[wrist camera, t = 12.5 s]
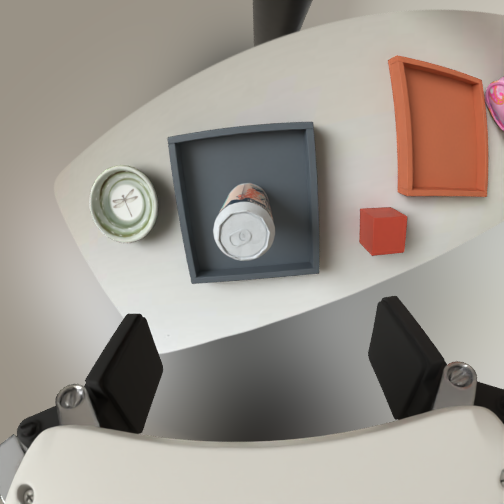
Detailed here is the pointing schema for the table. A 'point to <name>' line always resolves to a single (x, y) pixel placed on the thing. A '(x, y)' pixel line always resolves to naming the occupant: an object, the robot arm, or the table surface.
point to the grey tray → (256, 172)
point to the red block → (382, 230)
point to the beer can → (245, 223)
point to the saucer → (123, 204)
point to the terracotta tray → (439, 130)
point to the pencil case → (496, 101)
